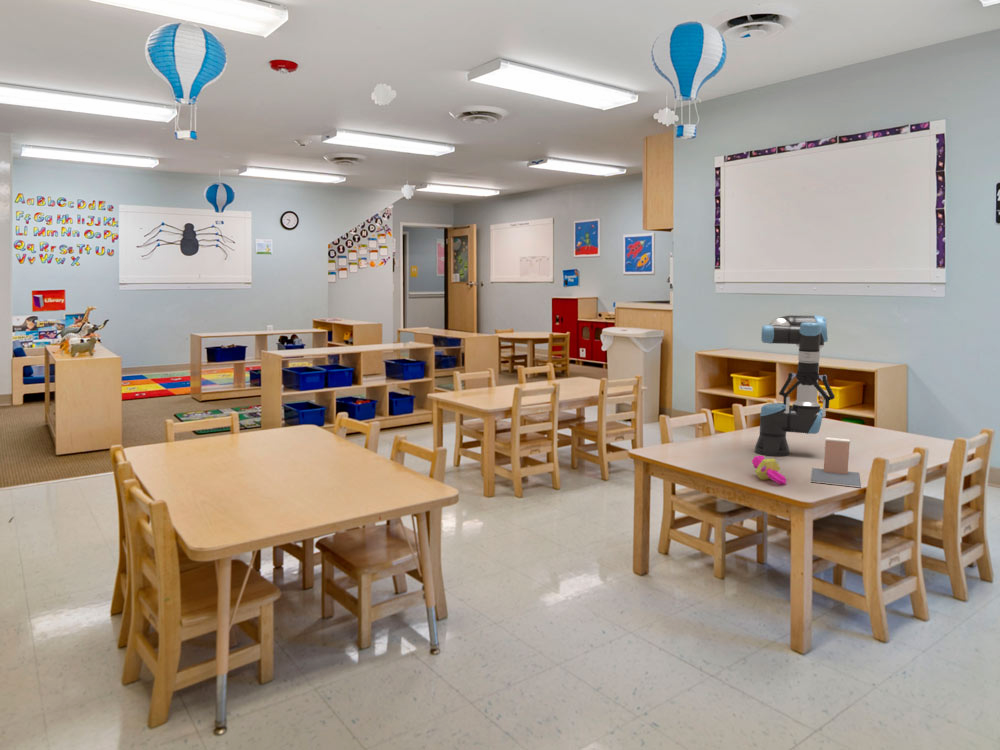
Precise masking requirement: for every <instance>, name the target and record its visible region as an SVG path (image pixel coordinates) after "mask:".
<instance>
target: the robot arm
mask: <svg viewBox="0 0 1000 750" xmlns="http://www.w3.org/2000/svg"><path fill="white" fill-rule="evenodd" d="M761 327H762V328H761V340H760V341H761V343H763V344H771V345H772V344H780V345H781V344H782V345H783V344H784V345H785V344H786V345H796V346H797V347H798V357H797V358H798V359H797V360H798V362H797V372H796V373H794V372H789V373H788V376H787V380H786V381H785V383H784V384H783V386H782V387H781V389H780V391H779V392H778V394H779V395H780V396H782V397H783V402H776V403H775V402H772V403H768V404H767V403H766V404H764V405H762V406H761V408H760V414H759V417H760V419H759V421H760V422H759V436H758V438H757V441H756V443H755V445H754V452H755V453H756V454H759V455H762V456H770V457H784V456H788V455H790V447H789V443H788V440H787V433H797V434H806V435H809V434H810V435H816V434H819V432H820V430H821V426H822V421H823V418H825V417H826V415H827V413H826V410H828V409H829V407H830V401H831V400H834V399H835V394H834V393H833V390H832V388H831V386H830V384H829V381H828V376H827V374H824V375H823V374H822V375H820V373H819V370H820V355H821V354H820V353H821V349H822V348H823V347H824V346H825V343H827V342H828V328H827V318H826V317H825V316H822V315H790V314H789V315H784V316H780V317H777V318H774V319H773V320H771V321H770V322H769V323H768V324H767V325H766V324H764V325H762V326H761ZM795 377H796V380H797V381H796V382H795V384H793V385H792V386H791V387H790V388H789V389H788V390H787V388H788V387H789V385H790V383H791V382H792V380H793V379H794V378H795ZM819 379H820V380H821V382H822V383H823V385H824V388H825V389H826V391H825V390H824V389H823V388H822V387H821V385H820V384H819ZM796 388H797V389H796ZM786 390H787V391H786ZM794 390H796V400H795V401H794V402H793V403H792V406H791V407H790V403H791V397H790V396H789V395H790V394H791V393H792V392H793V391H794ZM785 391H786V392H785ZM818 392H819V394H820V395H821V396H822V398H824V399H823V401H822V408H821V404H820V403H819V402H818Z"/></svg>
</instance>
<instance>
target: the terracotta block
mask: <svg viewBox="0 0 1000 750" xmlns="http://www.w3.org/2000/svg"><path fill="white" fill-rule="evenodd" d="M850 442H851V441H850V439H848V438H837V437H828V436H827V437H825V442H824V445H825V446H824V460H823V461H824V462H823V469H824V472H830V473H839V474H848V472H849V471H848V470H849V456H850Z"/></svg>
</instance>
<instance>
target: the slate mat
mask: <svg viewBox="0 0 1000 750" xmlns="http://www.w3.org/2000/svg"><path fill="white" fill-rule="evenodd" d="M810 483H811V484H818V485H826V486H827V485H829V486H836V487H843V488H844V487H845V488H851V489H853V488H854V489H862V482H861V475H860V472H858V471H857V472H856V471H848V474H839V473H830V472H824V468H817V467H812V469H811V477H810Z"/></svg>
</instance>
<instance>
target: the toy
mask: <svg viewBox="0 0 1000 750" xmlns="http://www.w3.org/2000/svg"><path fill="white" fill-rule="evenodd" d="M751 463H752V464H753V465H752V466H754V467H753V468H755V471H754V472H755V474H756V476H757V477H758V478H759V480H762V481H765V480H766V481H767V480H772V481H774V482H776V483H777V484H780V485H786V484H787V478H786V477H785V475H783V474H781V473H780V472H779V471H780V469H781V468H780V466H779V464H778V461H776V459H775V458H767V459H766V458H765V456H764V455H756V456H754V457H753V459H752V460H751Z"/></svg>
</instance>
